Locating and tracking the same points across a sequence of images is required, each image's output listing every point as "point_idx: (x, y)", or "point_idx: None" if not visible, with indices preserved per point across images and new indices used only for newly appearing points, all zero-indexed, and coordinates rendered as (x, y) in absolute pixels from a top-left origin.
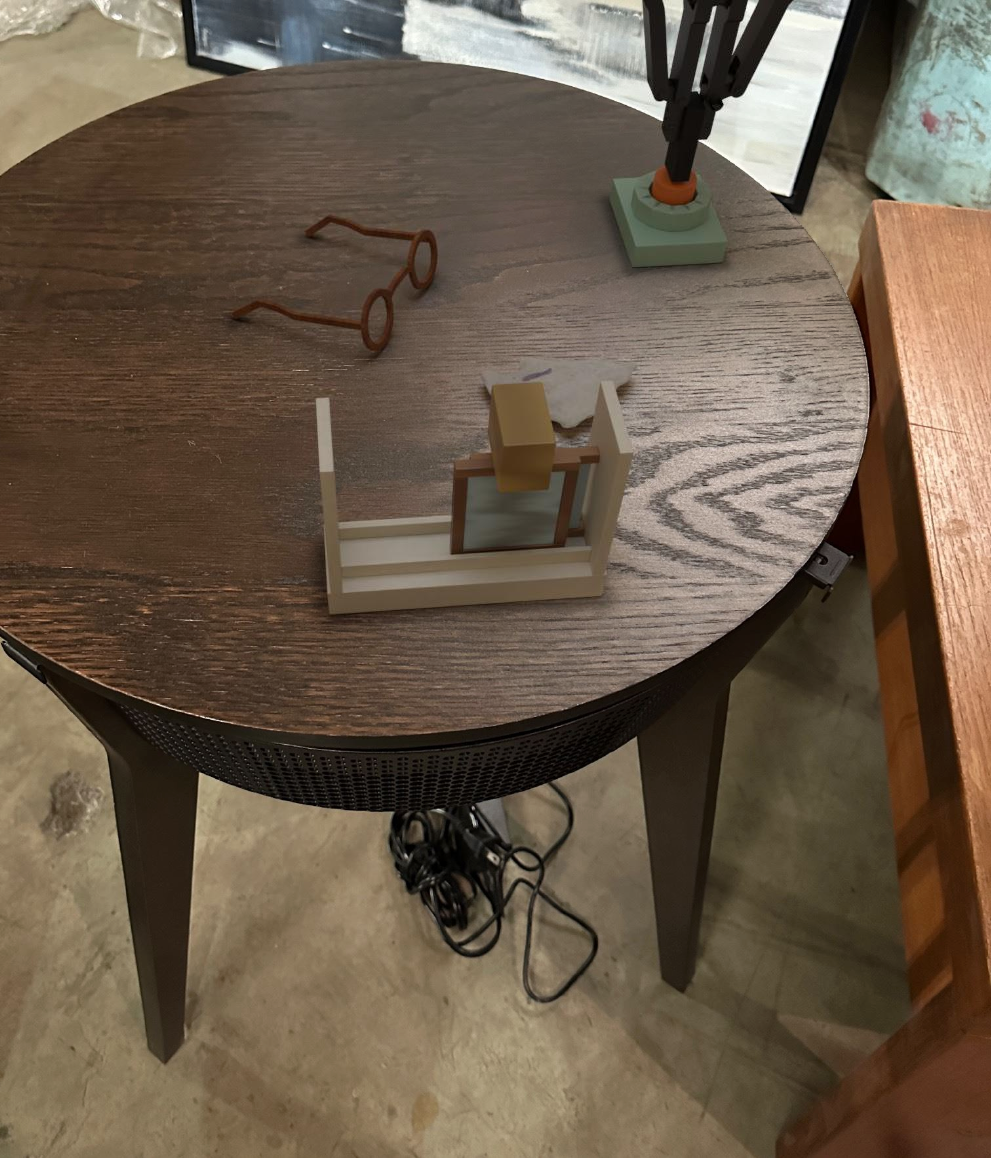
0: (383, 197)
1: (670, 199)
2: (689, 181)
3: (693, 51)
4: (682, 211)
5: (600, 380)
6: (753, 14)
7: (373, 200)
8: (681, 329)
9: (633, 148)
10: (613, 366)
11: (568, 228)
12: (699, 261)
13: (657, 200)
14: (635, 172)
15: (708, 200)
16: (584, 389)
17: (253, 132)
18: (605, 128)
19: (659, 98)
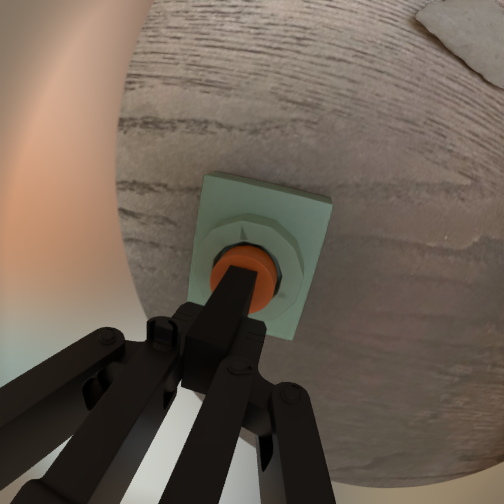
0: (480, 378)
1: (262, 254)
2: (226, 269)
3: (198, 470)
4: (254, 227)
5: (465, 7)
6: (29, 463)
7: (488, 376)
8: (321, 70)
9: None
10: (446, 17)
11: (365, 294)
12: (243, 177)
13: (275, 266)
14: None
15: (206, 238)
16: (481, 8)
17: (487, 445)
18: None
19: (295, 388)
